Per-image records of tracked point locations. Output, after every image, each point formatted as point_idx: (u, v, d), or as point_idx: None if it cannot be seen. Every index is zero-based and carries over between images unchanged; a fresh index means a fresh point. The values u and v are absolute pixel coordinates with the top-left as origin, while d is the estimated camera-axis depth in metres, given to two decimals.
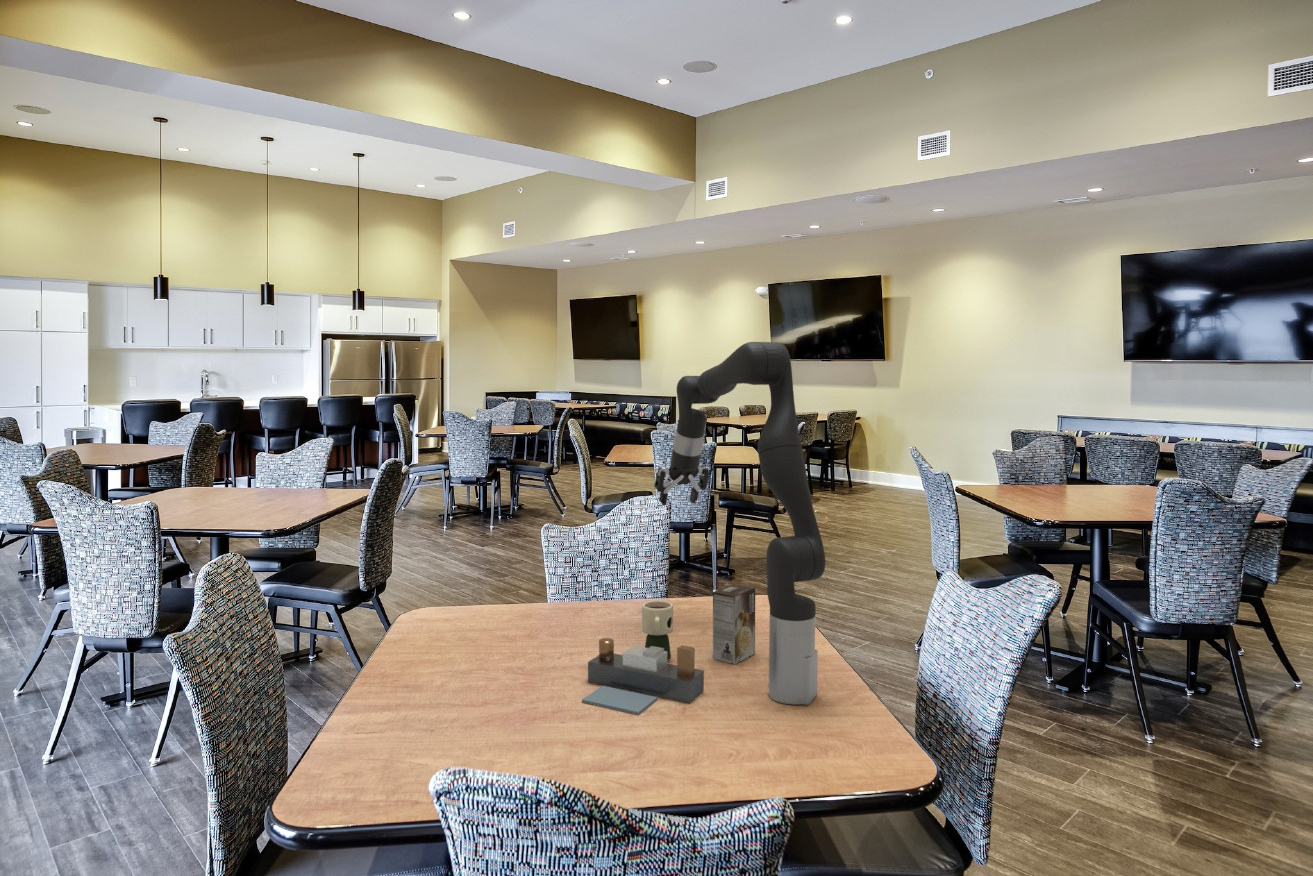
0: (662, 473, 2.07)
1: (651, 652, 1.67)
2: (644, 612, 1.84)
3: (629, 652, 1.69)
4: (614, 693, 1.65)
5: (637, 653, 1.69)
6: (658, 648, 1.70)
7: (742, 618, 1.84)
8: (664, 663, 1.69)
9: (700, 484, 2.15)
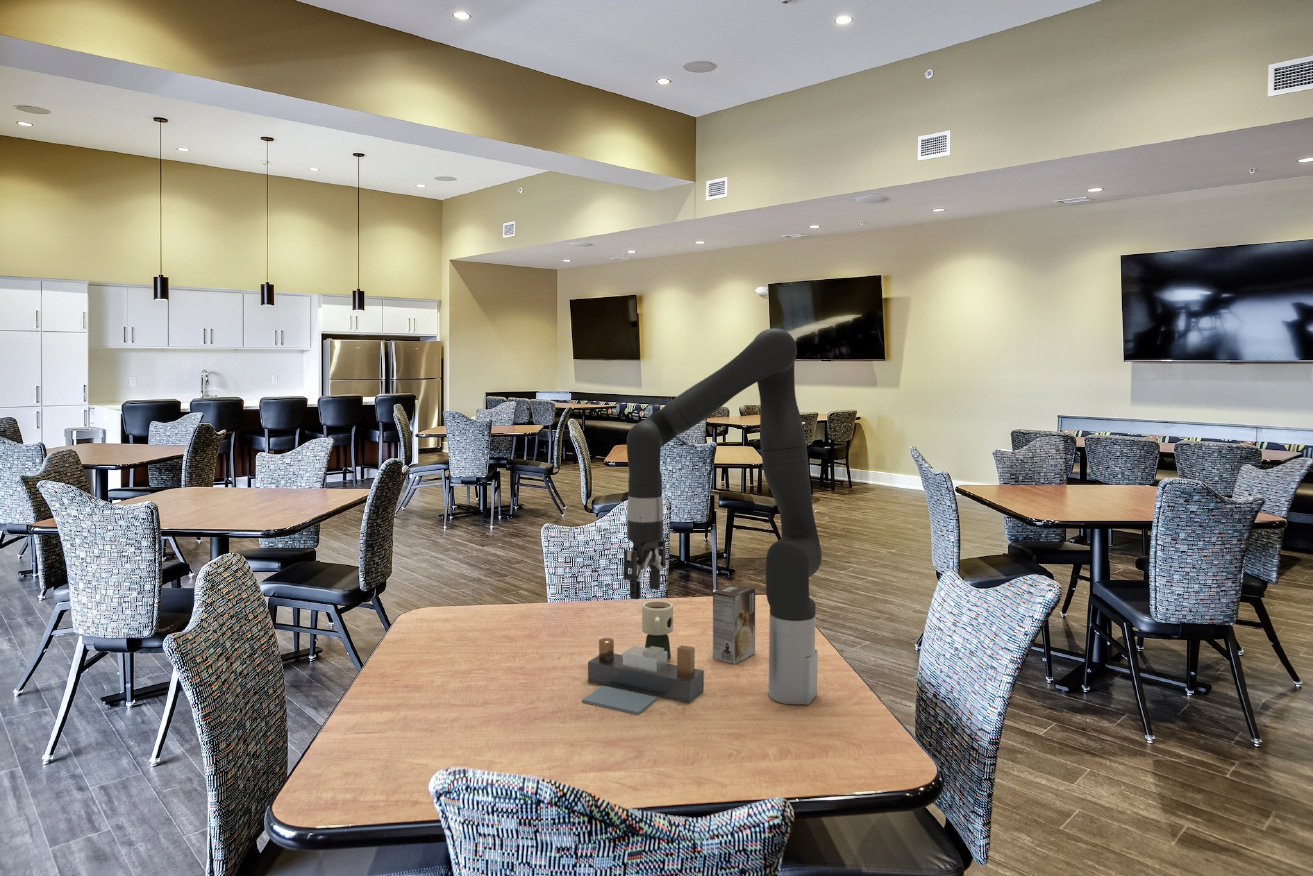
0: (635, 554, 1.62)
1: (651, 652, 1.67)
2: (644, 612, 1.84)
3: (629, 652, 1.69)
4: (614, 693, 1.65)
5: (637, 653, 1.69)
6: (658, 648, 1.70)
7: (742, 618, 1.84)
8: (664, 663, 1.69)
9: None
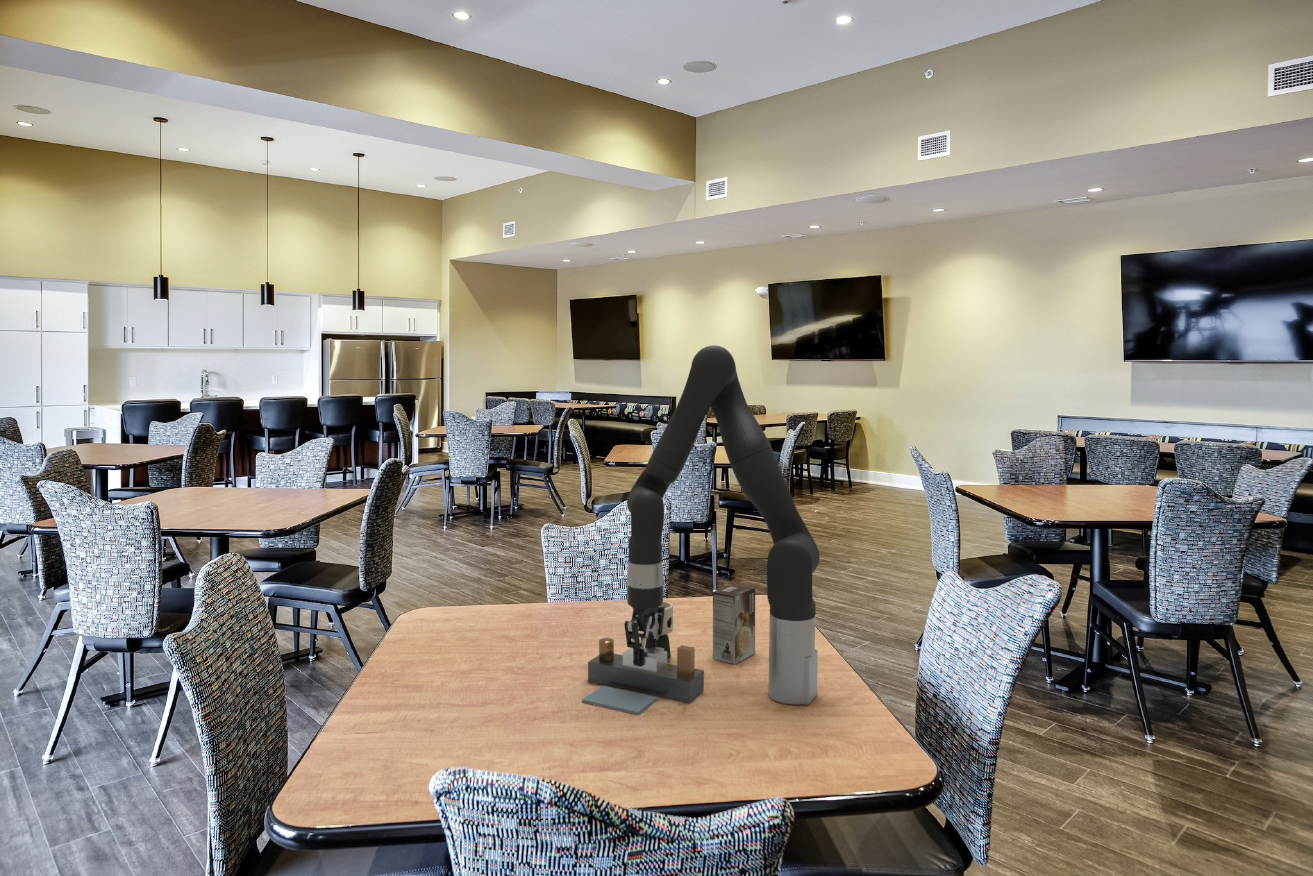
0: (635, 625, 1.63)
1: (651, 652, 1.67)
2: None
3: (629, 652, 1.69)
4: (614, 693, 1.65)
5: None
6: (658, 648, 1.70)
7: (742, 618, 1.84)
8: (664, 663, 1.69)
9: None
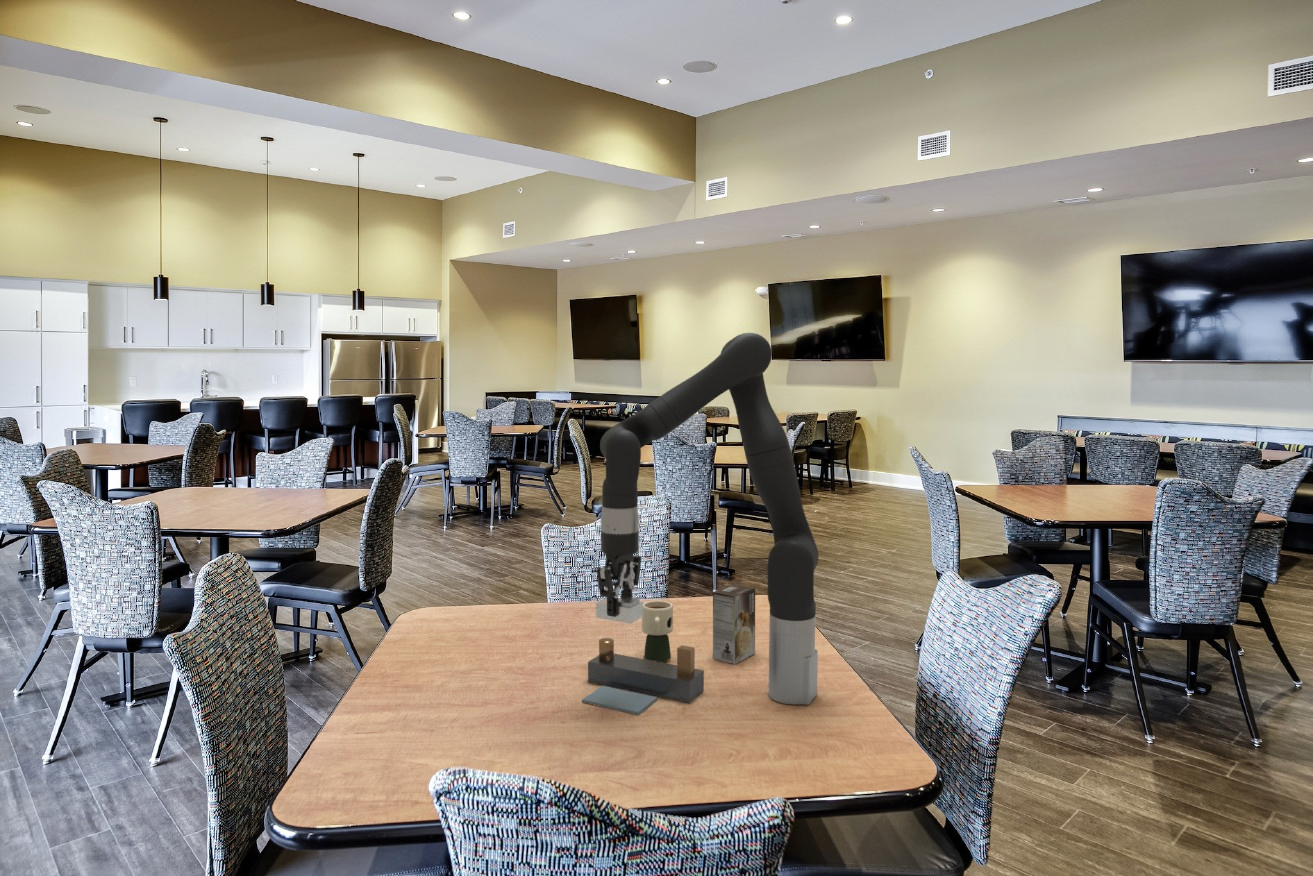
0: (608, 572, 1.54)
1: (625, 602, 1.59)
2: (644, 612, 1.83)
3: (603, 602, 1.61)
4: (614, 693, 1.65)
5: None
6: (633, 598, 1.61)
7: (742, 618, 1.84)
8: (639, 614, 1.61)
9: None
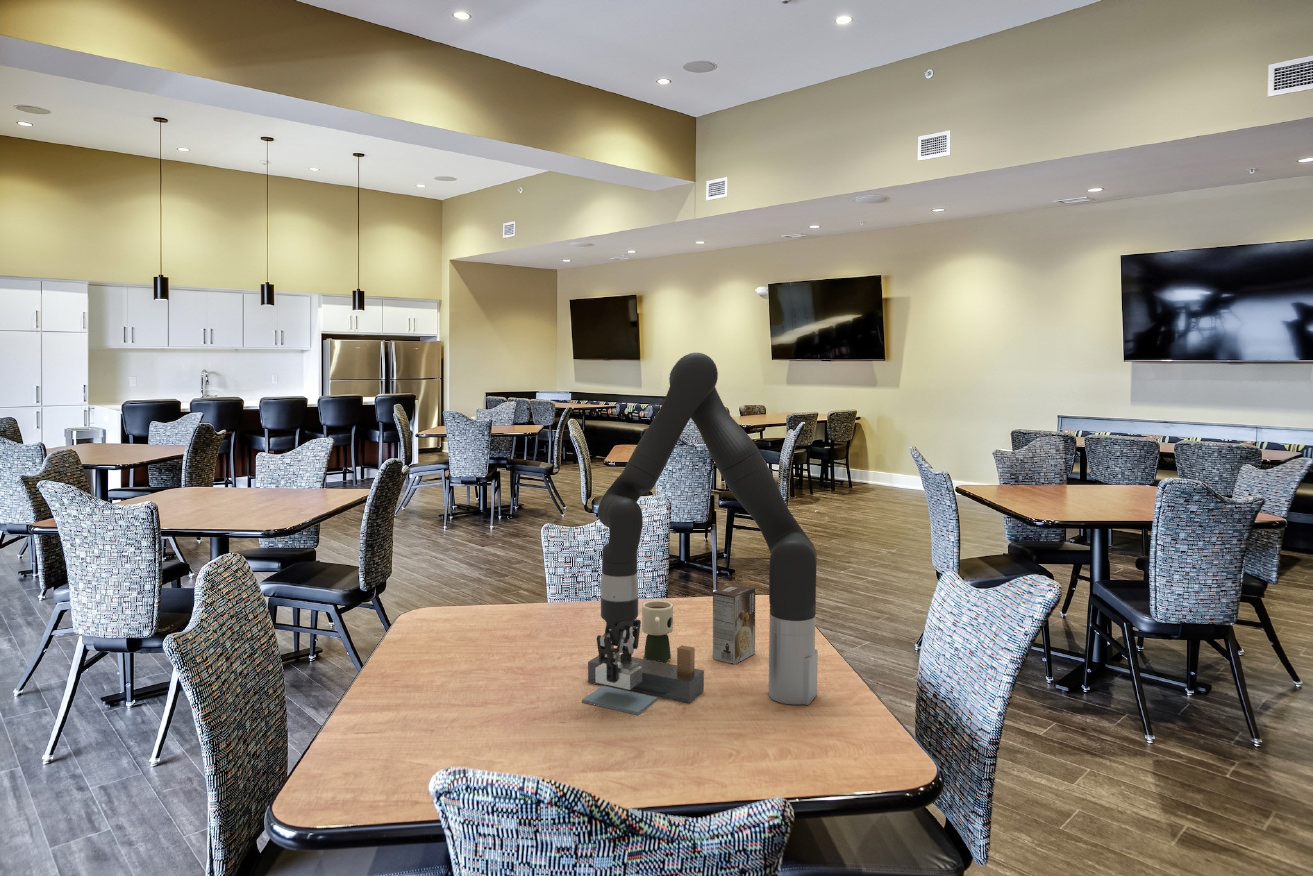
0: (608, 640, 1.55)
1: (625, 668, 1.60)
2: (644, 612, 1.84)
3: (602, 667, 1.62)
4: (614, 693, 1.65)
5: None
6: (632, 663, 1.62)
7: (742, 618, 1.84)
8: (639, 679, 1.62)
9: None
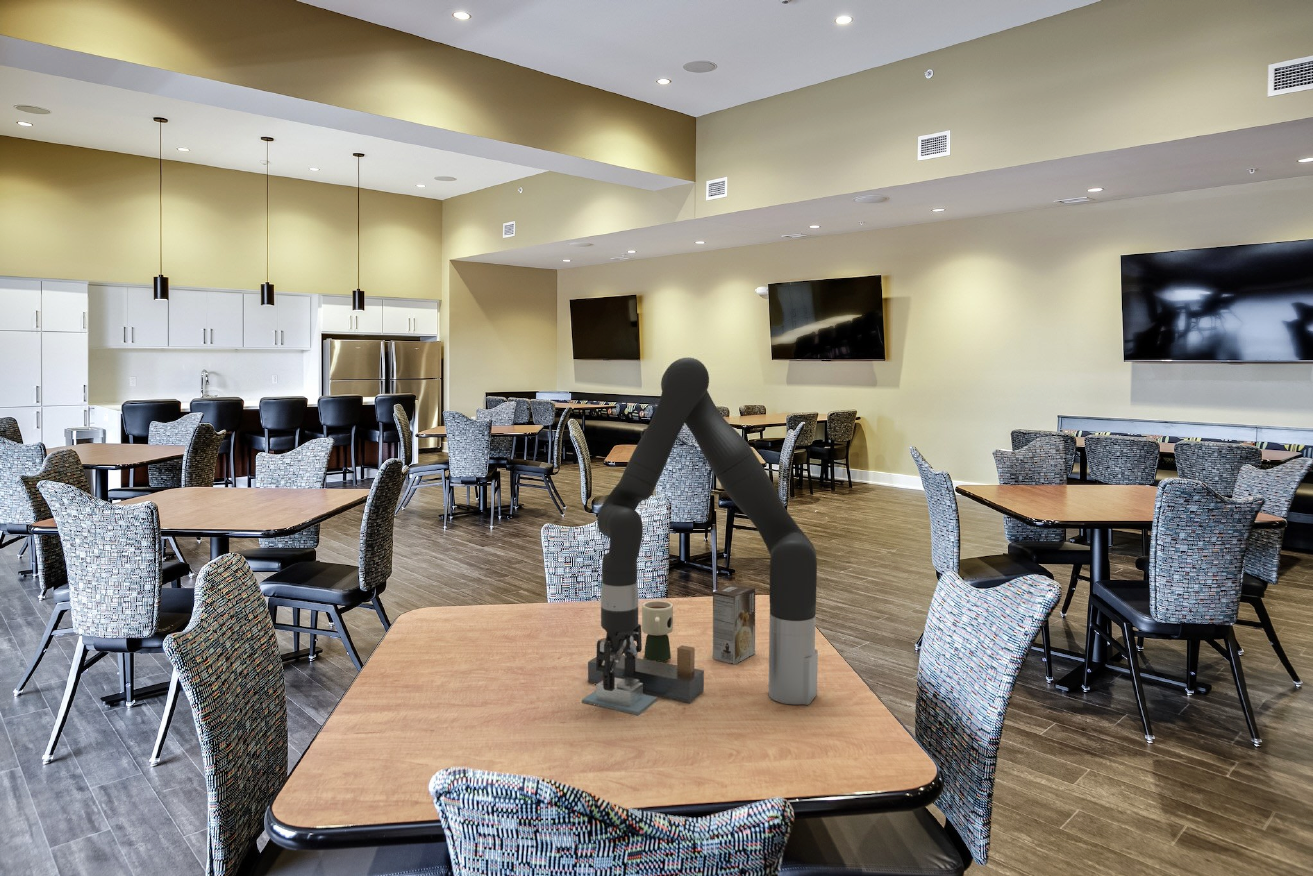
0: (608, 645, 1.55)
1: (625, 684, 1.60)
2: (644, 612, 1.83)
3: None
4: None
5: None
6: (633, 680, 1.62)
7: (742, 618, 1.84)
8: (639, 695, 1.62)
9: None
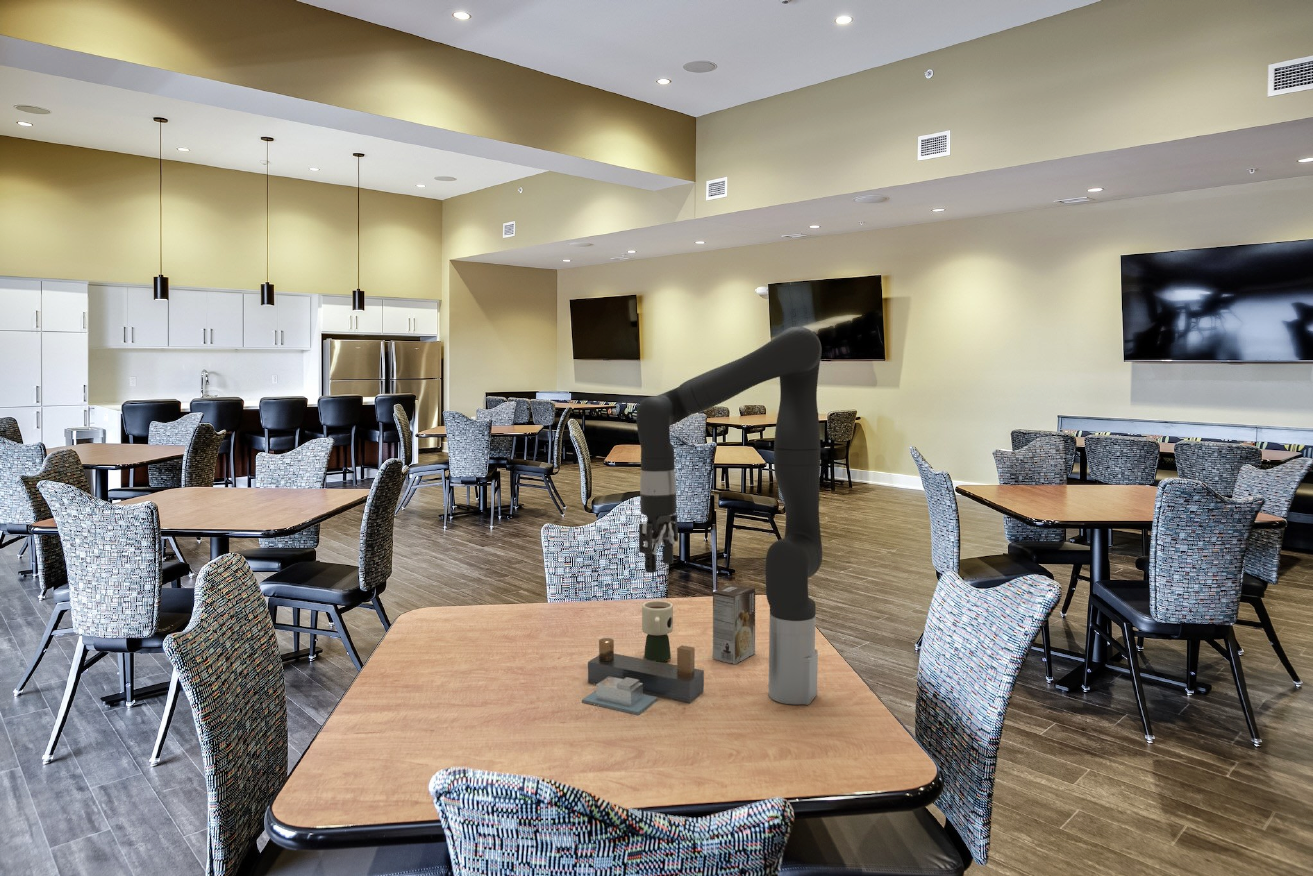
0: (650, 526, 1.62)
1: (625, 684, 1.60)
2: (644, 612, 1.83)
3: (603, 684, 1.62)
4: None
5: (611, 685, 1.62)
6: (633, 680, 1.62)
7: (742, 618, 1.84)
8: (639, 695, 1.62)
9: None
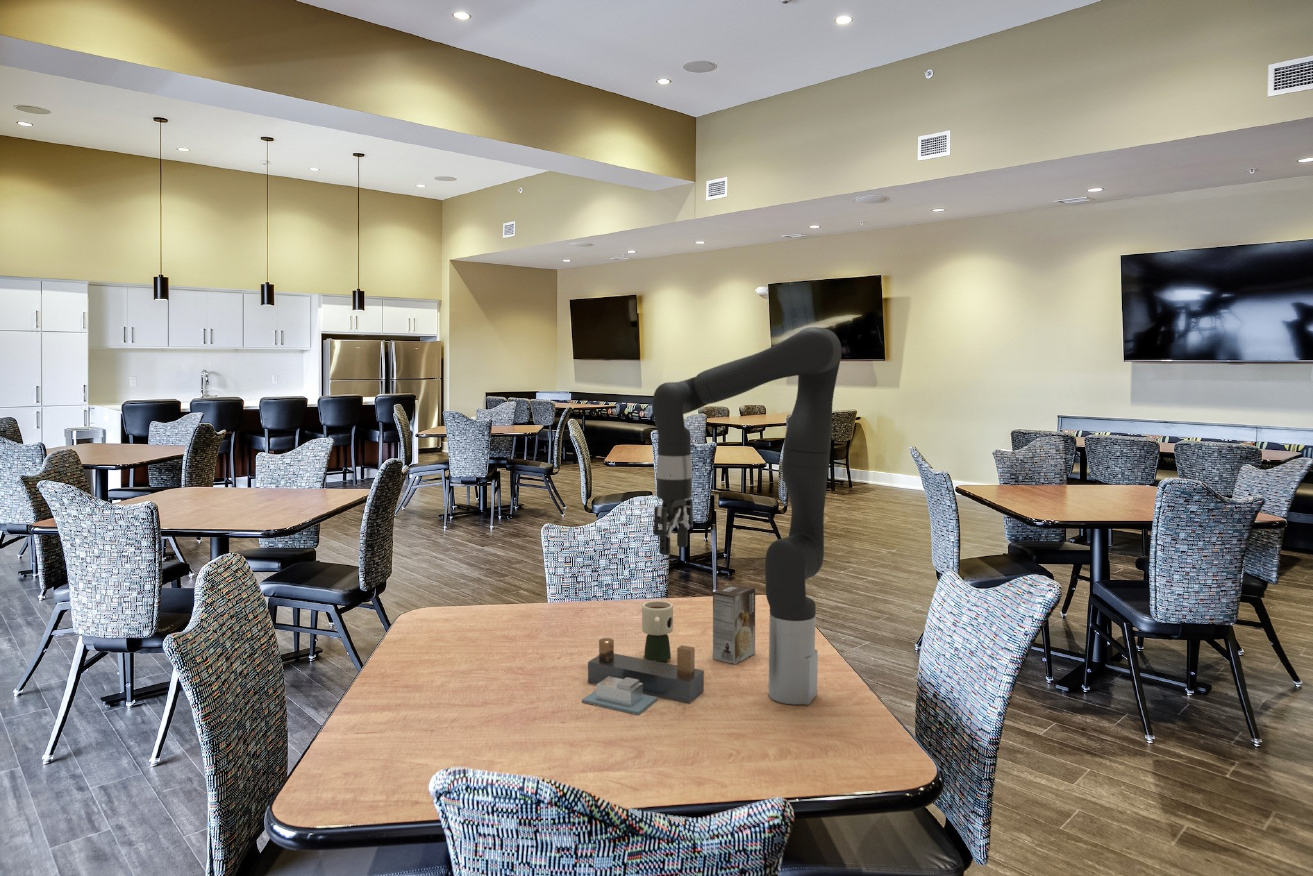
0: (665, 510, 1.66)
1: (625, 684, 1.60)
2: (644, 612, 1.84)
3: (603, 684, 1.62)
4: None
5: (611, 685, 1.62)
6: (633, 680, 1.62)
7: (742, 618, 1.84)
8: (639, 695, 1.62)
9: None
